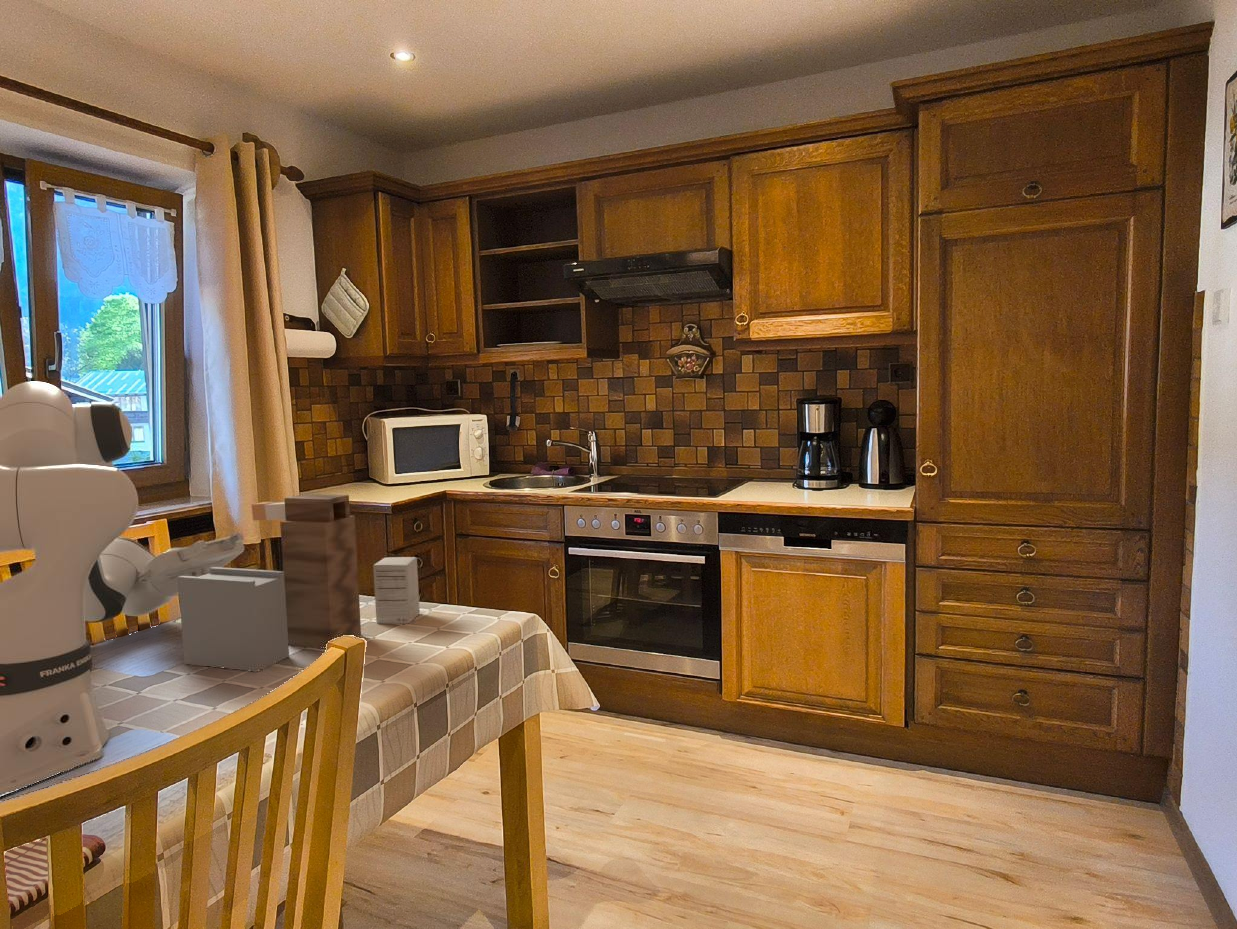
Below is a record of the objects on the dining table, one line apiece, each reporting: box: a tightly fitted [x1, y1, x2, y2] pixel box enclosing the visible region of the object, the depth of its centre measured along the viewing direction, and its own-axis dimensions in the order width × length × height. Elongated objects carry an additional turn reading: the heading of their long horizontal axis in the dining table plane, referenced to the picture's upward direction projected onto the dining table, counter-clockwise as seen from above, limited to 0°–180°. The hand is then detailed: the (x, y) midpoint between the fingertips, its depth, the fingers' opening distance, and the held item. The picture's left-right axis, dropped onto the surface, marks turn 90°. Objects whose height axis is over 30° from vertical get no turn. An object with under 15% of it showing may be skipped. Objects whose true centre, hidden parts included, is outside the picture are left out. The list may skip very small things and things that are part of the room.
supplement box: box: [372, 556, 420, 624], centre depth 164 cm, size 7×7×13 cm
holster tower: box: [279, 493, 362, 650], centre depth 150 cm, size 9×10×28 cm
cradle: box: [178, 566, 290, 673], centre depth 139 cm, size 8×16×16 cm, turn 73°
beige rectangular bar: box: [250, 501, 286, 522], centre depth 151 cm, size 3×14×3 cm, turn 73°
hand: (221, 539), depth 156 cm, fingers open, 8 cm apart
